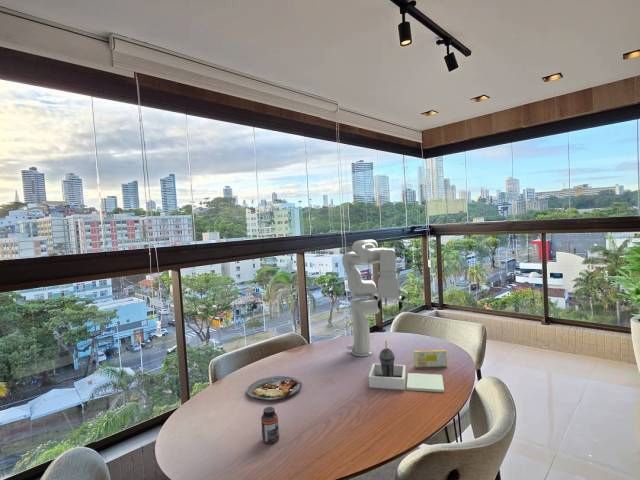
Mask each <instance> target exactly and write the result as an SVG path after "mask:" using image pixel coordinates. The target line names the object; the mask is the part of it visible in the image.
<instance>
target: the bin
mask: <svg viewBox="0 0 640 480" xmlns="http://www.w3.org/2000/svg"><path fill="white" fill-rule="evenodd" d="M406 368H407V367H406V364H405V365H404V364H394V369H393V377H383V376H382V368H381V363H372V365H371V368H370V371H369V374H368V387H369V388H373V389H389V390H403V391H404V390H405V388H406V381H407V380H406V377H407V370H406ZM379 375H380V376H379ZM394 376H399V377H394ZM400 376H401V377H400Z"/></svg>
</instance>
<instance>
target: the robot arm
mask: <svg viewBox="0 0 640 480" xmlns="http://www.w3.org/2000/svg"><path fill="white" fill-rule="evenodd" d="M351 247H352V251H348V252H345V253H343V255H342V257H341V261H342V263H341V264H342V266H343V269H344V271H345V273H346V277H347V282H348V289H349V293H350V296H351V297H353V298H360V299H354V300H353V301H352V302H351V303H350V306H349V308H350V312H351V318H352V320H351V321H352V330H353V332H352V335H353V336H352V337H353V344H347V345H346V349H347V350H351V354H352V355H353V356H356V357H368V356H372V355H373V354H374V350H373V349H372V348H371V333H370V322H369V320H368V318H366V316H372V315H377V314H379V313H380V311H381V310H382V308H383V304H382V299H397V300H398V311H402V309H403V307H404V305H403V301H404V300H405V299H406V298H407V296H408V291H406V290H404V289H402V288H401V287H400V280H399V277H398V276H397V264H396V263H397V262H396V250H395V249H394V248H389V247H379V245H378V242H377V241H376V240H375V239H360V240H356V241H355V242H354V243H353V244H352V246H351ZM370 264H371V265H372V264H379V271H377V275H379V277H378V282H377V285H376V282H375V281H373V280H371V279H366V280H363V277H362V272H361V271H360V269H359V268H357V267H356V266H364V265H370ZM401 294H403V296H401ZM364 297H368V298H364Z"/></svg>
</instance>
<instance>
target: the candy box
mask: <svg viewBox="0 0 640 480" xmlns="http://www.w3.org/2000/svg"><path fill="white" fill-rule="evenodd" d="M413 358H414V360H413V361H414V367H415V368H447V367H448V362H447V350H446V349H443V350H442V349H441V350H440V349H438V350H414V351H413Z"/></svg>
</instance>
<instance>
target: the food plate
mask: <svg viewBox="0 0 640 480" xmlns="http://www.w3.org/2000/svg"><path fill="white" fill-rule="evenodd" d="M279 381H280V382H281V383H279V386H277V385H278V384H273V383H274V382H279ZM285 381H286V382H285ZM287 382H289V383H287ZM269 383H271V384H269ZM266 384H267V385H266ZM260 387H261V388H260ZM278 387H279V390H282V391H279V390H266V389H264V388H268V389H276V388H278ZM259 388H260V389H259ZM301 388H302V382H301V381H300V380H299V379H298V378H297V379H296V378H295V377H290V376H283V375H275V376H270V377H269V376H268V377H264V378H260V379H258V380H255V381H254V382H252V383H251V384H250V385H249V386H247V388H246V393H247V395H248V396H250V397H251V398H256V399H262V400H268V401H276V400H280V399H285V398H288V397H291V396H292V395H294V394H296V393H297V392H298V391H300V390H301ZM290 389H292V390H291V391H290Z"/></svg>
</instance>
